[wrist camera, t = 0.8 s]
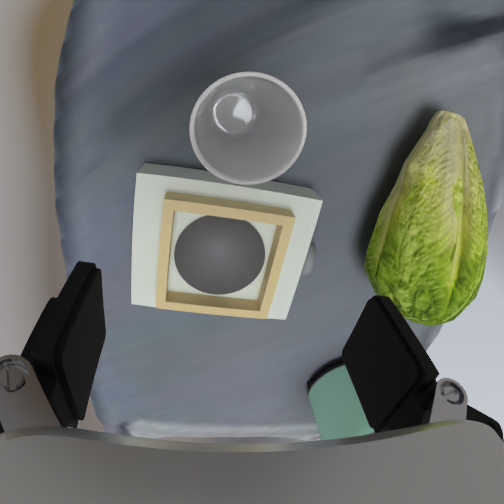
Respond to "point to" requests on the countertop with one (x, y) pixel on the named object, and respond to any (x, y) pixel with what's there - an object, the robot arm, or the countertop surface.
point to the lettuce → (432, 227)
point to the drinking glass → (247, 128)
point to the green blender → (336, 405)
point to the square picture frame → (220, 243)
